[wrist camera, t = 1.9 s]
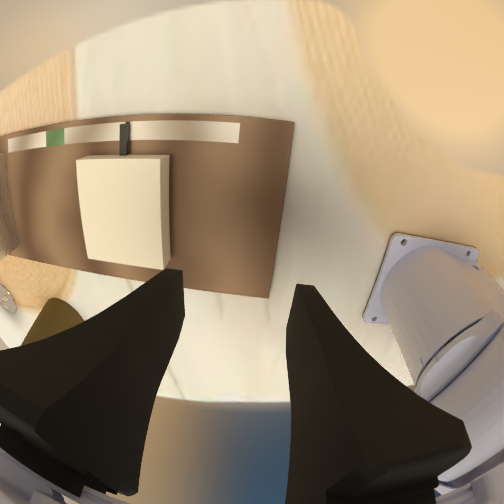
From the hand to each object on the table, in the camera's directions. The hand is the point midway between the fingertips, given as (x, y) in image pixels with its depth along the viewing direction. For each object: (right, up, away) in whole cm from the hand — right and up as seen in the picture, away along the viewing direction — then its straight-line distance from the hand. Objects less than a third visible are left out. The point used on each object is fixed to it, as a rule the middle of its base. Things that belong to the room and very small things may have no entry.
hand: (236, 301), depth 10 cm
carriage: (-8, +6, +7) cm, 12 cm away
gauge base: (-11, +6, +8) cm, 15 cm away
